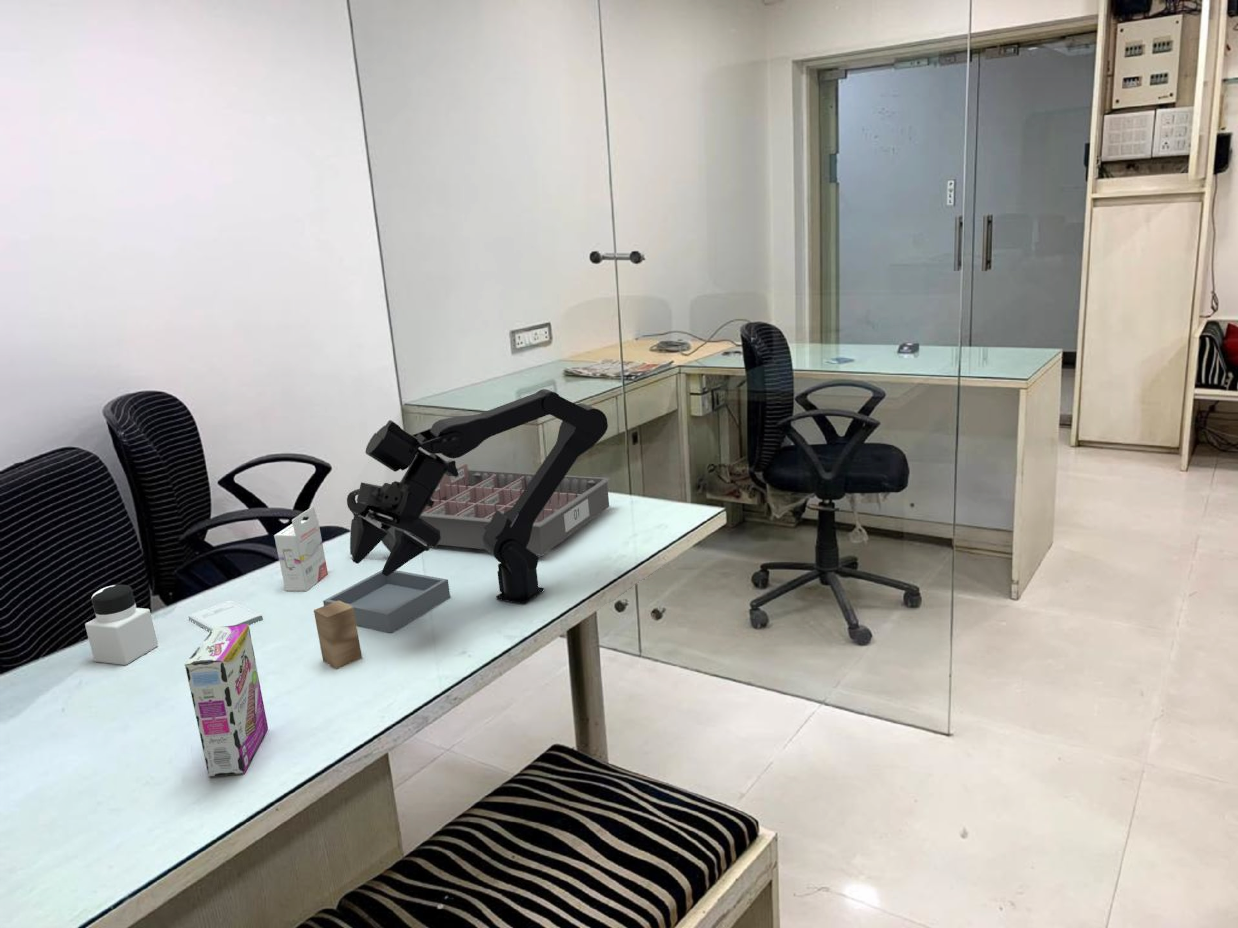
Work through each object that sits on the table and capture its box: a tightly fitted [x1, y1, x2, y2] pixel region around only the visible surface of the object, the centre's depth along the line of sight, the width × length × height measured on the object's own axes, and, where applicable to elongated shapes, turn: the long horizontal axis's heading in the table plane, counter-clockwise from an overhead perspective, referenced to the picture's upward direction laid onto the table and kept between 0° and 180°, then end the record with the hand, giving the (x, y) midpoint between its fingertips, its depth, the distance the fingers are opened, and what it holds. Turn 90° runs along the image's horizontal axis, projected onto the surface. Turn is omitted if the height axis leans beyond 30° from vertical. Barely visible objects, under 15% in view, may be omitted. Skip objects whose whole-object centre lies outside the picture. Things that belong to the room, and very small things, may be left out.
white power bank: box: [188, 600, 264, 633], centre depth 166 cm, size 2×8×12 cm
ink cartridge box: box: [273, 506, 329, 592], centre depth 179 cm, size 9×5×15 cm, turn 168°
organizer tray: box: [388, 462, 612, 556], centre depth 202 cm, size 32×40×10 cm
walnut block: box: [313, 600, 363, 670], centre depth 146 cm, size 4×4×9 cm
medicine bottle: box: [84, 584, 159, 666], centre depth 154 cm, size 7×7×12 cm
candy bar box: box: [184, 624, 269, 778], centre depth 121 cm, size 11×5×16 cm, turn 5°
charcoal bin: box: [322, 569, 451, 634], centre depth 165 cm, size 16×16×4 cm
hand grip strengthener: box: [346, 488, 396, 559], centre depth 188 cm, size 2×12×15 cm, turn 73°
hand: (369, 568), depth 149 cm, fingers open, 9 cm apart
